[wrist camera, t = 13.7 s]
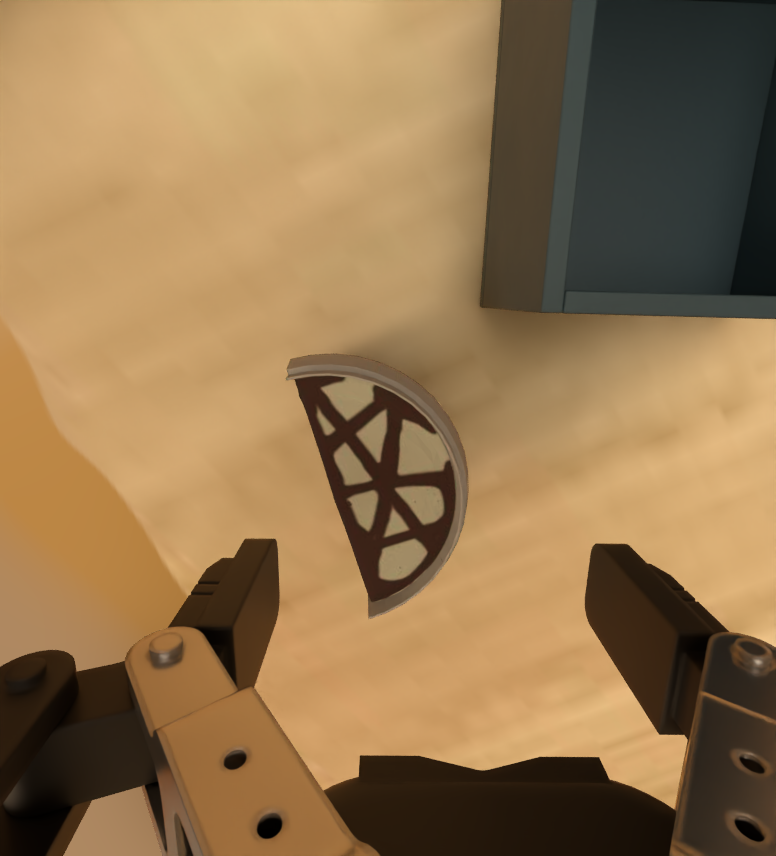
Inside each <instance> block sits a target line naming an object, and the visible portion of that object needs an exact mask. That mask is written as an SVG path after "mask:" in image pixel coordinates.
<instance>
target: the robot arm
mask: <svg viewBox="0 0 776 856" xmlns="http://www.w3.org/2000/svg"><path fill="white" fill-rule="evenodd" d="M278 610H279V571H278V548H277V542H276V539H245V540H244V541H243V543H242V545H241V546H240V548H239V550H238V552H237V553H236V555H235V557H234V558H222V559H220V560H219V561H217V562H216V563H214V564H213V565H212V566H210V567H209V568H207V569H206V571H205V572H204V574H203V575H202V577H201V578H200V580H199V581H198V584H196V586H195V587H194V589H193V590H192V592H191V595H189V596H188V598H187V599H186V601H185V602H184V604H183V605H182V607H181V609H180V610H179V612H178V613H177V615H176V616H175V618H174V619H173V621H172V622H171V624H170V625H169V627H168V628H166V629H162V630H159V631H156V632H154V633H151V634H149V635H147V636H145V637H144V638H142V639H141V640H139V641H138V642H137V643H135V644H134V645H133V646H132V647H131V648H130V650H129V651H128V653H127V655H126V657H125V661H123V662H120V663H116V664H112V665H107V666H102V667H98V668H93V669H88V670H83V671H78V672H76V665H75V661H74V658H73V657H72V656H71V655H70V654H69V653H67V652H64V651H59V650H46V651H39V652H35V653H31V654H27V655H24V656H21V657H19V658H17V659H14V660H12V661H10V662H8V663H6V664H4V665H3V666H1V667H0V856H63V855H64V853H65V851H66V849H67V847H68V845H69V843H70V841H71V840H72V838H73V835H74V833H75V832H76V830H77V828H78V826H79V824H80V822H81V820H82V818H83V817H84V815H85V813H86V811H87V809H88V807H89V805H90V803H91V801H92V800H94V799H98V798H101V797H105V796H108V795H112V794H115V793H119V792H122V791H126V790H129V789H133V788H136V787H140V786H142V790H143V794H144V797H145V800H146V804H147V807H148V810H149V813H150V817H151V820H152V823H153V827H154V830H155V833H156V836H157V840H158V843H159V847H160V850H161V853H162V856H776V647H774V646H772V645H770V644H768V643H766V642H764V641H762V640H760V639H757V638H754V637H751V636H748V635H744V634H739V633H732V632H729V631H728V630H727V629H726V628H725V627H724V626H723V625H722V624H721V623H720V622H719V621H717V620H716V619H715V618H714V617H713V616H712V615H711V614H710V613H709V612H708V611H707V610H706V609H705V608H704V607H703V606H702V605H701V604H700V603H699V602H695V598H694V597H693V596H692V595H690V594H689V593H688V592H687V591H684V588H683V587H682V586H681V585H680V584H679V583H678V582H677V581H676V580H675V579H674V578H673V577H672V576H671V575H669V574H667V573H666V572H664V571H662V570H660V569H659V568H657V567H655V566H653V565H652V564H647V563H646V562H645V561H644V560H643V559H642V558H641V557H640V556H639V555H638V554H637V553H636V552H635V551H634V550H633V549H632V548H631V547H630V546H629V545H627V544H595V545H594V546H593V548H592V551H591V556H590V563H589V571H588V579H587V586H586V594H585V611H586V616H587V619H588V622H589V624H590V626H591V627H592V629H593V631H594V632H595V634H596V635H597V637H598V638H599V640H600V642H601V643H602V645H603V646H604V648H605V650H606V651H607V653H608V654H609V656H610V657H611V659H612V661H613V662H614V664H615V665H616V667H617V669H618V670H619V672H620V673H621V675H622V676H623V678H624V680H625V681H626V683H627V684H628V686H629V688H630V689H631V691H632V692H633V694H634V695H635V697H636V699H637V700H638V702H639V703H640V705H641V706H642V708H643V710H644V711H645V713H646V714H647V716H648V718H649V719H650V721H651V722H652V724H653V725H654V727H655V729H656V730H657V732H658V733H659V735H685V736H686V738H687V739H688V742H687V747H686V752H685V757H684V762H683V767H682V772H681V778H680V783H679V788H678V793H677V798H676V804H675V809H673V808H671V807H669V806H668V805H666V804H665V803H663V802H662V801H660V800H658V799H656V798H654V797H652V796H651V795H649V794H647V793H645V792H642V791H640V790H638V789H636V788H633V787H631V786H628V785H625V784H622V783H619V782H616V781H613V780H609V778H608V776H607V773H606V771H605V769H604V767H603V765H602V763H601V761H600V758H599V757H538V758H534V759H530V760H526V761H522V762H518V763H514V764H510V765H506V766H502V767H498V768H495V769H491V770H485V771H482V770H475V769H471V768H467V767H463V766H458V765H454V764H450V763H446V762H442V761H438V760H434V759H429V758H425V757H421V756H360V765H359V777H357V778H353V779H349V780H346V781H344V782H341V783H338V784H336V785H333V786H331V787H330V788H328V789H326V790H324V791H323V790H322V788H321V787H320V785H319V784H318V782H317V781H316V779H315V778H314V776H313V775H312V773H311V772H310V770H309V769H308V767H307V766H306V764H305V763H304V761H303V760H302V758H301V757H300V755H299V754H298V752H297V751H296V749H295V748H294V746H293V745H292V743H291V742H290V740H289V739H288V737H287V736H286V734H285V733H284V731H283V730H282V728H281V727H280V725H279V724H278V722H277V721H276V719H275V718H274V716H273V715H272V713H271V712H270V710H269V709H268V707H267V706H266V704H265V703H264V701H263V700H262V698H261V697H260V695H259V694H258V692H257V691H256V690H255V689H254V686H255V683H256V680H257V677H258V674H259V671H260V668H261V665H262V662H263V659H264V656H265V653H266V650H267V647H268V644H269V641H270V638H271V635H272V632H273V629H274V627H275V624H276V620H277V616H278Z"/></svg>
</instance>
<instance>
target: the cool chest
mask: <svg viewBox="0 0 776 856" xmlns="http://www.w3.org/2000/svg"><path fill="white" fill-rule="evenodd" d="M480 307H482V308H493V309H505V310H516V311H528V312H539V313H569V314H606V315H643V316H680V317H718V318H755V319H776V0H502V3H501V17H500V32H499V46H498V60H497V74H496V88H495V102H494V116H493V130H492V145H491V159H490V173H489V187H488V201H487V215H486V229H485V243H484V258H483V272H482V286H481V300H480Z"/></svg>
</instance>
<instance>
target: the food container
mask: <svg viewBox="0 0 776 856" xmlns="http://www.w3.org/2000/svg"><path fill="white" fill-rule="evenodd" d="M287 372H288V376H287V378H286V380H291V379H295V382H296V386H297V388H298V392H299V397H300V399H301V401H302V403H303V405H304V407H305V410H306V413H307V416H308V419H309V422H310V425H311V428H312V431H313V434H314V437H315V440H316V443H317V446H318V449H319V452H320V455H321V458H322V461H323V464H324V467H325V471H326V474H327V477H328V480H329V484H330V487H331V490H332V493H333V496H334V500H335V503H336V505H337V508H338V511H339V513H340V516H341V518H342V521H343V524H344V526H345V529H346V532H347V535H348V538H349V540H350V543H351V546H352V549H353V552H354V555H355V558H356V561H357V563H358V566H359V569H360V572H361V575H362V578H363V581H364V584H365V587H366V589H367V592H368V615H369V619H371V618H373V617H376V616H379V615H382V614H385V613H387V612H389V611H391V610H393V609H395V608H397V607H399V606H401V605H403V604H405V603H406V602H407V601H409V600H410V599H412V598H413V597H414V596H416V595H417V594H419V593H420V592H421V591H422V590H423V589H424V588H425V587H426V586H427V585H428V584H429V583H430V582H431V581H432V580H433V579H434V578H435V577H436V575H437V574H438V573H439V571H440V570H441V569H442V567H443V566H444V565H445V563H446V562H447V561H448V559H449V557H450V555H451V553H452V552H453V550H454V548H455V546H456V544H457V542H458V539H459V536H460V533H461V531H462V528H463V525H464V519H465V513H466V507H467V500H468V468H467V463H466V457H465V452H464V449H463V446H462V443H461V441H460V438H459V435H458V432H457V431H456V429H455V427H454V425H453V423H452V422H451V420H450V418H449V416H448V415H447V413H446V412H445V411H444V410H443V408H442V407H441V406H440V405H439V403H438V402H437V401H436V400H435V398H434V397H433V396H432V395H430V394H429V393H428V392H427V391H426V390H425V389H424V388H423V387H422V386H420V385H419V384H418V383H417V382H415V381H414V380H412V379H411V378H409V377H408V376H406V375H404V374H403V373H401V372H400V371H398V370H396V369H393V368H391V367H389V366H387V365H384V364H382V363H380V362H377V361H373V360H369V359H366V358H362V357H358V356H351V355H341V354H319V355H308V356H303V357H299V358H294V359H290V362H289V365H288V368H287Z"/></svg>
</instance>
